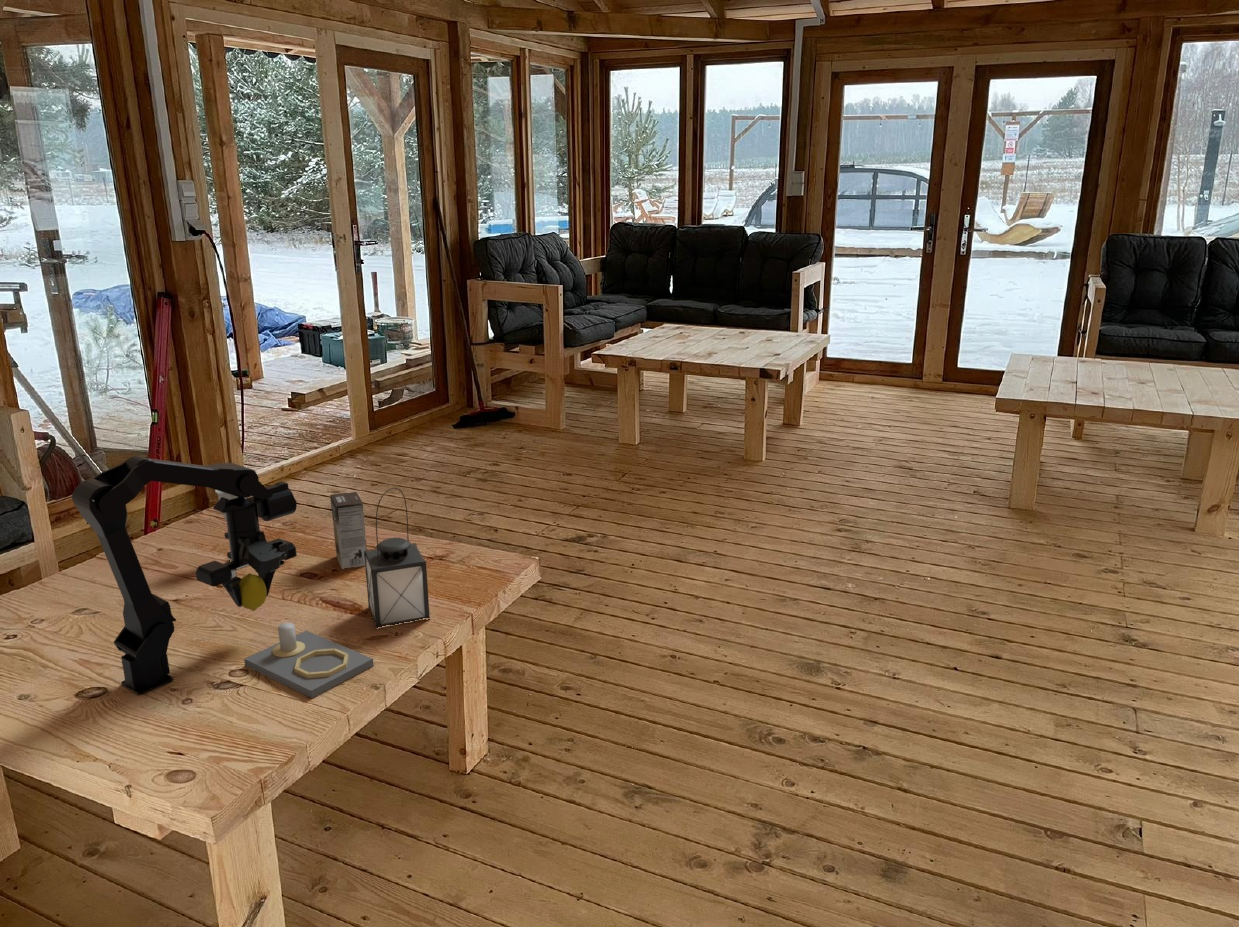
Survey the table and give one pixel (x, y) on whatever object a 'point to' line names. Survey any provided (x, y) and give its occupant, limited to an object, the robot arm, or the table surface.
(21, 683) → the table surface
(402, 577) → the lantern
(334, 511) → the coffee box
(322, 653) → the board
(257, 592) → the lemon
